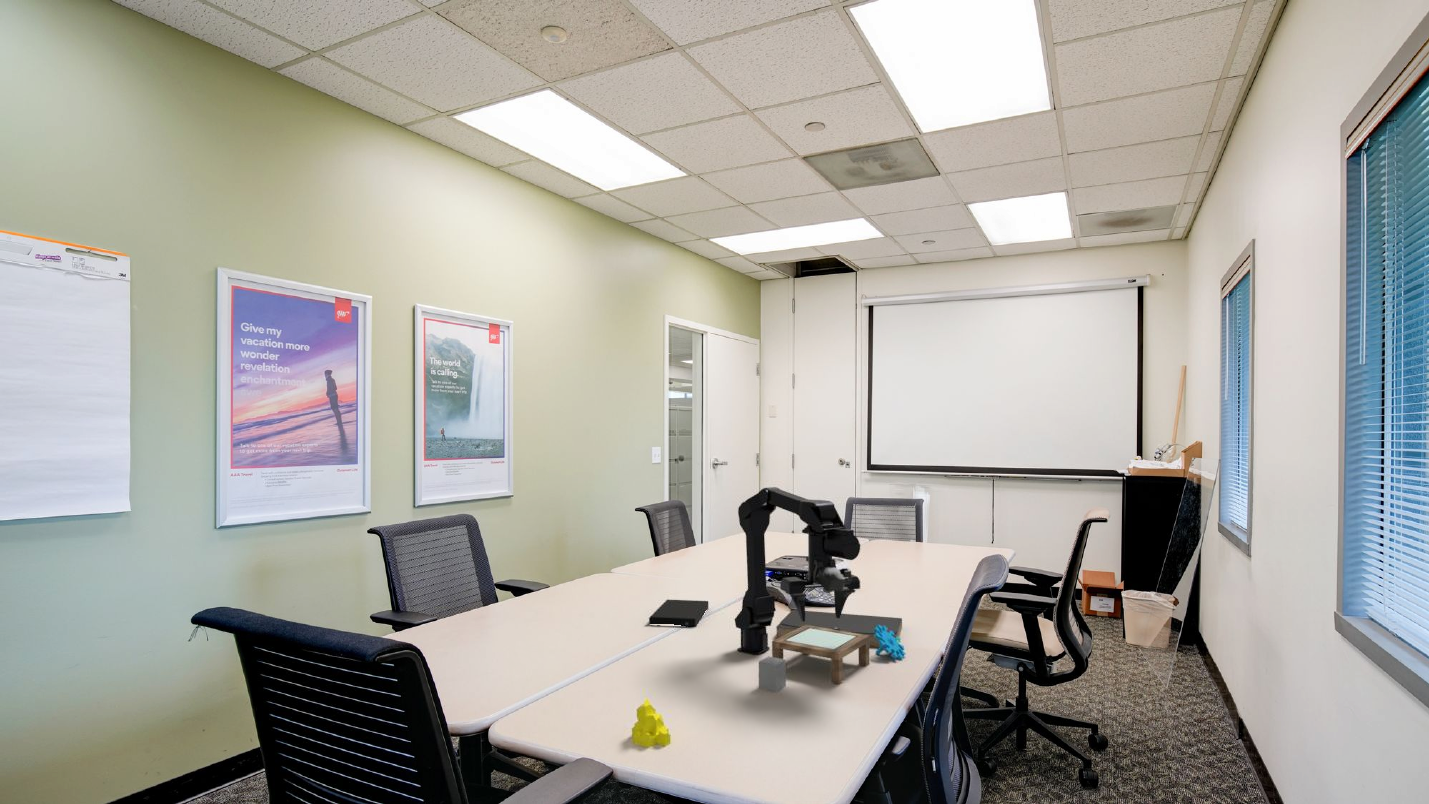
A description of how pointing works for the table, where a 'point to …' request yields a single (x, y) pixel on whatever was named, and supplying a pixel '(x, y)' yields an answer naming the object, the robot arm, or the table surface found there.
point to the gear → (889, 642)
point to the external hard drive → (679, 613)
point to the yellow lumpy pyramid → (649, 727)
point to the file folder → (841, 624)
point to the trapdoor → (821, 638)
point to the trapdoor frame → (825, 649)
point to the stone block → (772, 674)
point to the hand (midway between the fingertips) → (820, 619)
